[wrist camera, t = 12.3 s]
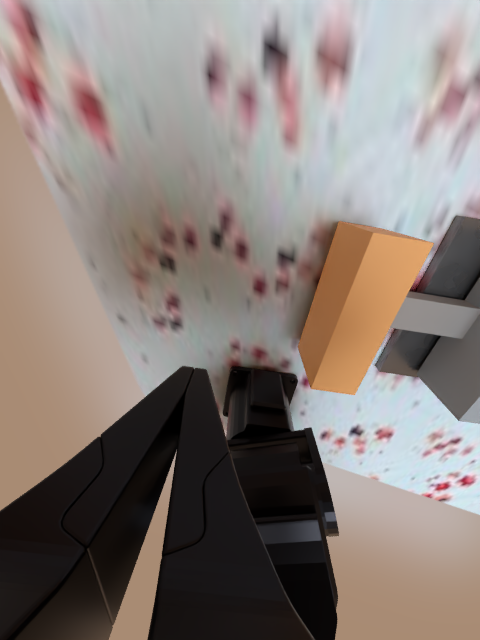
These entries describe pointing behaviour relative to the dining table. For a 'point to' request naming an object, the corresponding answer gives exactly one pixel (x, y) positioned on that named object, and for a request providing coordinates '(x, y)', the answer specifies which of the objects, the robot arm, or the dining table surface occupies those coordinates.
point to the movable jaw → (388, 318)
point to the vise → (437, 294)
